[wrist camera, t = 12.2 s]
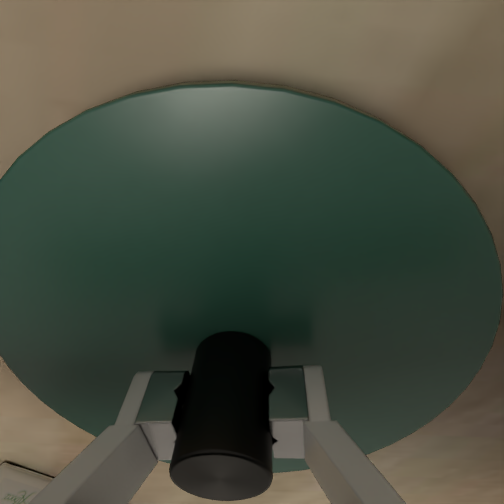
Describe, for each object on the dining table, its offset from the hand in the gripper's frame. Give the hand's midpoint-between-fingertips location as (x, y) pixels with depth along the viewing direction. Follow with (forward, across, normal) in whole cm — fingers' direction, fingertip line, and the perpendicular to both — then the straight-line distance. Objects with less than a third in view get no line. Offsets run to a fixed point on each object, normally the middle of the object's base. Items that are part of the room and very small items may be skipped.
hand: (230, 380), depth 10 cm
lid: (+1, 0, 0) cm, 1 cm away
